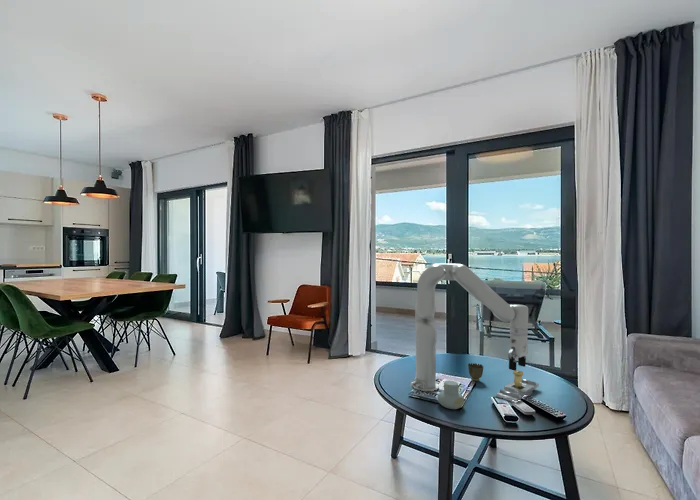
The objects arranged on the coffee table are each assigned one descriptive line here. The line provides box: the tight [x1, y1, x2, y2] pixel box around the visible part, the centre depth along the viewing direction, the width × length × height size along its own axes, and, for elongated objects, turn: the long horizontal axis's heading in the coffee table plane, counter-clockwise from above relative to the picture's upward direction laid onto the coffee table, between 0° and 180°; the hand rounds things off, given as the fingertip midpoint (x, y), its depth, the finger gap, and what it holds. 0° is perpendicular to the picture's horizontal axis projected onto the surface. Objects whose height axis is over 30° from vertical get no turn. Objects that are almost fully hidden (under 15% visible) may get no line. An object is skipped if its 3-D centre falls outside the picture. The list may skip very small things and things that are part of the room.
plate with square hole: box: [495, 378, 540, 402], centre depth 164 cm, size 24×9×4 cm, turn 131°
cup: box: [467, 362, 484, 382], centre depth 179 cm, size 8×7×8 cm
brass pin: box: [512, 369, 524, 389], centre depth 163 cm, size 4×4×10 cm
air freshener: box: [437, 380, 465, 410], centre depth 149 cm, size 11×8×10 cm
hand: (517, 367), depth 164 cm, fingers open, 9 cm apart
